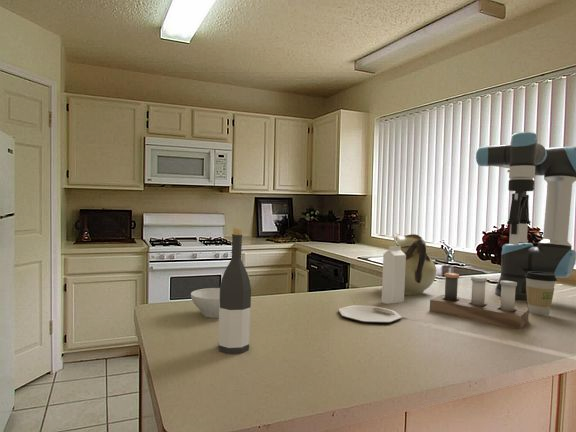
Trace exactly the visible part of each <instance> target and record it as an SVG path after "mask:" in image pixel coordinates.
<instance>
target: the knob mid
mask: <svg viewBox="0 0 576 432" xmlns="http://www.w3.org/2000/svg"><path fill="white" fill-rule="evenodd" d="M470 278H471V279H470V280H471V298H470V299H471V304H473V305H477V306H484V302H486V301H485V297H486V283H487V282H488V278H487V277H482V276H471V277H470Z"/></svg>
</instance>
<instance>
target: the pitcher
mask: <svg viewBox="0 0 576 432" xmlns="http://www.w3.org/2000/svg"><path fill="white" fill-rule="evenodd" d="M393 240H394V243H395V246H401V251H402V252H403V253H404V254H405V255H406V266H405V288H404V296H414V295H417V294H424V291H426V290H427V289H429V288H430V287H431V286H432V284H433V283H434V282H435V280H436V277H437V266H436V264H435V263H434V261H433V260H432V259H431V257H430V256H429V255H428V253H427V244H426V242H425V240H424V239H423V237H422V236H420V235H418V234H417V233H416V234H415V233H414V234H413V233H412V234H407V235H402V234H401V235H400V234H398V233H394V234H393Z"/></svg>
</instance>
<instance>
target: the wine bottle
mask: <svg viewBox="0 0 576 432" xmlns="http://www.w3.org/2000/svg"><path fill="white" fill-rule="evenodd" d="M232 232H233V233H232V234H231V237H232V238H231V241H232V242H231V259H230V261H229V263H228V265H227V267H226V268H225V270H224V272H223V275H222V276H221V281H220V286H219V288H220V301H219V318H218V333H217V336H218V337H217V340H218V341H217V344H218V352H220V353H224V354H226V355H235V354H236V355H239V354H243V353H245V352H247V351H249V350H250V338H251V337H250V336H251V335H250V333H251V332H250V331H251V310H252V309H251V306H252V305H251V304H252V303H251V301H252V287H251V281H250V278H249V275H248V271H247V269H246V267H245V265H244V263H243V260H242V247H243V246H242V243H243V234H242V228H233V229H232Z"/></svg>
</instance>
